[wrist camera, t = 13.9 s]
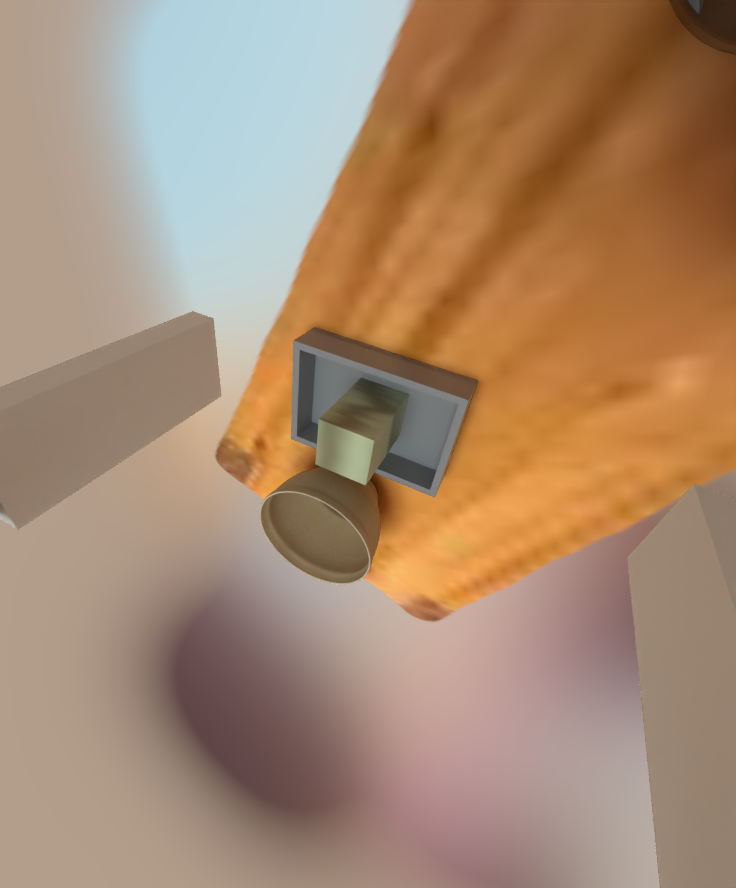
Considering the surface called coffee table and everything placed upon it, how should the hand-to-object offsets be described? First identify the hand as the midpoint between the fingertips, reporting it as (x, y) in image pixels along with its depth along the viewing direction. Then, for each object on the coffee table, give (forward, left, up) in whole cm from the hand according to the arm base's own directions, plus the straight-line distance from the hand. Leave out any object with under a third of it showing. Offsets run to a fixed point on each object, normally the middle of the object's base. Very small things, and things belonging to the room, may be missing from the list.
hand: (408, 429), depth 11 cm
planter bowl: (+13, +36, -31) cm, 49 cm away
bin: (+10, +20, -31) cm, 38 cm away
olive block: (+10, +20, -30) cm, 37 cm away
